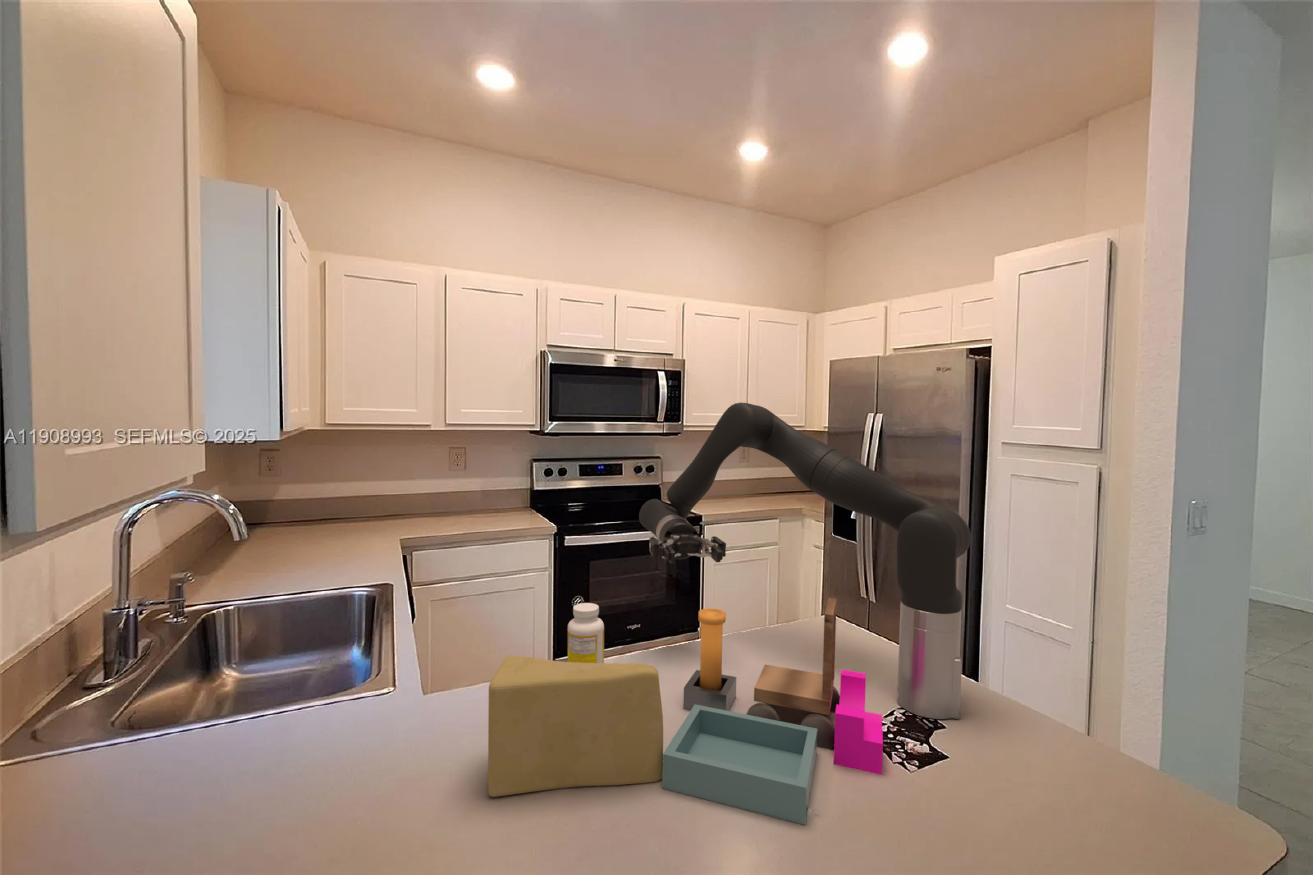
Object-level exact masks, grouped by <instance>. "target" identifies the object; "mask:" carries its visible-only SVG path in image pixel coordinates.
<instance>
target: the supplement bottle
mask: <svg viewBox="0 0 1313 875" xmlns="http://www.w3.org/2000/svg"><path fill="white" fill-rule="evenodd" d="M572 612H573V613H572V614H573V617H574V618H572V619H571V620H569V622H568V624H567V662H574V663H605V624H604V622H603V620H602V619H601V618H599V617H598V616H599V614H600V606H599V605H598V604H596V603H592V602H583V603H577V604H576V605H574V606H573V608H572Z"/></svg>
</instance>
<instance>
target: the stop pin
mask: <svg viewBox="0 0 1313 875" xmlns="http://www.w3.org/2000/svg"><path fill="white" fill-rule="evenodd" d="M726 619H727V618H726V612H725V611H724V610H722V609H718V608H711V607H710V608H703V609H700V610H698V622H700V656H699V657H700V661H699V662H700V664H699V665H700V666H699V669H700V687H702V688H707V689H713V690H718V691H721V680H722V675H723V673H722V672H723V671H722V670H723V668H722V667H723V632H724V631H723V630H724V627H723V625H724V623H726Z"/></svg>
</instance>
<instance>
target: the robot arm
mask: <svg viewBox="0 0 1313 875" xmlns="http://www.w3.org/2000/svg"><path fill="white" fill-rule="evenodd" d="M740 447H741V448H747V449H754V450H758V451H759V452H762V453H765V454H767V455H769V456H770V457H772V458H775V459H776V460H778V461H780V462H781V463H782V464H783V465H784V466H786V467H787V468H788V469H789V471H790V472H791V473H792V474H793V475H794V477H795V478H796V479H797V480H798V481H799V482H800V483H801V484H802V485H804V486H806V488H807V489H809V490H811V491H812V492H813V493H815V494H817V495H818V496H820V497H822V498H823V499H825V500H826V501H828V502H830V503H832V504H834V505H836V506H839V507H841V508H844V509H846V510H849V511H852V512H854V513H858V514H861V515H863V516H866V517H870V518H872V519H874V520H877V521H880V522H882V523H884V524H886V525H887V526H889V527H890V528H892V529H894V530H895V531H897V537H896V582H897V586H898V588H899V592H900V606H899V608H900V610H899V611H900V612H899V613H900V615H899V633H898V634H899V637H898V639H899V640H898V663H897V664H898V668H897V670H898V671H897V687H896V688H897V690H896V691H897V693H896V694H897V696H896V697H897V698H896V701H897V703H898V704H899V706H900V707H902V708H903V709H904V710H906V711H907V712H910V713H912V714H914V715H916V716H920V717H922V718H923V717H924V718H927V719H934V720H935V719H936V720H947V719H957V720H960V716H961V715H960V714H961V692H962V691H961V690H962V671H963V670H962V668H963V666H962V664H963V660H962V658H961V653H960V652H961V635H962V634H961V631H962V606H963V604H962V603H963V595H962V592H961V591H960V590H959V589H958V587H957V582H956V579H957V577H956V575H957V574H956V572H957V571H956V569H957V567H956V566H957V564H956V563H957V562H956V561H957V559H959V558H960V557H961V556H963V555H964V554H965V553H967V551H968V550H969V547H970V545H971V542H972V535H971V530H970V528H969V525H968V524H967V522H966V521H965V520H964V518H963V517H962V516H961V515H959V514H958V513H957V512H955V511H954V510H952V509H951V508H948V507H946V506H943V505H941V504H938V503H936V502H933V501H931V500H929V499H926V498H924V497H922V496H920V495H917V494H916V493H913V492H912V491H909V490H907V489H904V488H903V487H902V486H900V485H897V484H896V483H894V482H893V481H891V480H889V478H887V477H885V476H884V475H881V474H880V473H879V472H876V471H875V470H873V469H871V468H870V467H868V466H866V465H865V464H863V463H861V462H860V461H858V460H856V459H855V458H853V457H852V456H850V455H848V454H846V453H844V452H842V451H840V450H839V449H837V448H835V447H833V446H831V445H829V444H827V443H825V442H823V441H821V440H819V439H817V438H814V437H812V436H810V435H809V434H805V433H803V432H800V430H798V429H796V428H794V427H793V426H791V425H790V424H788V423H787V422H786V421H784V420H782V418H780V417H779V416H777V414H775V413H773V412H772V411H771V410H769V409H767V408H765V407H764V406H762V405H761V406H760V405H757V404H753V403H749V402H737V403H736V402H735V403H734V404H731V405H730V406H729V407H728V408H726V409H725V411H724V412H723V413H722V415H721V417H720V418H719V420H718V421H717V423H716V424H715V426H714V427H713V429H712V431H711V432H710V434H709V436H708V438H706V440H705V442H704V444H703V445H702V446H701V448H700V449H699V451H698V452H697V454H696V456H695V457H694V459H692V462H691V463H689V465H688V467H686V469H685V470H684V471H683V472H682V473H681V474H680V475H679V476H678V478H676V479H675V480H674V482H673V483H672V484H671V485H670V487H669V488H668V489H667V492H666V498H667V500H668V502H669V504H670V505H671V506H672V507H673V508H672V507H671V506H669V505H668V504H666V503H665V502H663V501H662V500H660V499H658V498H653V499H649V500H647V501H646V502H645V503H644V504H643V505H642V506H641V507H640V510H639V515H638V520H639V523H640V524H641V526H643V528H645V529H646V530H647V531H649V532H651V534H653V535H654V536H655V537H654V536H651V537H649V549H648V550H649V552H650V555H651V557H652V558H654V559H658V558H659V556H661V557H662V559H664V560H665V561H667V562H669V564H675V563H676V560H685V559H688V558H690V557H692V556H693V557H694V556H695V557H699V558H706V557H709V558H711V559H712V560H713V561H714V562H715V563H721V561H722V560H723V558H725V557H726V556H727V554H726V552H727V551H726V550H727V548H726V547H727V543H726V542H725V541H723V540H722V539H721V538H719V537H718V536H714V535H713V536H711V537H710V539H708V538H705V537H700V534H699V532H698V530H697V529H696V528H695V527H694V526H693V525H692V524H691V523H690V522H689V521H688V520H687V518H688V516H689V514H690V513H691V512H692V510H693V508H695V506H696V505H697V504H698V503H699V502H700V501H701V500H702V498H704V496H705V495H706V494H707V493H708V492H709V491H710V489H711V487H712V486H713V484H714V482H715V480H716V476H717V475H718V471H719V469H720V467H721V465H722V464H723V463H724V461H725V460H726V459H727V458H728V457H729V456H730V455H731V454H733V452H735V451H736V450H738V449H739V448H740ZM710 551H711V552H710Z"/></svg>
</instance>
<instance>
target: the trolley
mask: <svg viewBox="0 0 1313 875" xmlns="http://www.w3.org/2000/svg"><path fill="white" fill-rule="evenodd" d="M837 600H838V599H837V598H833V597H832V598H831V597H828V600H827V603H826V608H825V610H824V619H823V649H822V650H823V653H822V654H823V657H822V673H819V672H811V671H806V670H800V669H794V668H789V667H782V666H777V665H771V664H764V665H763V668H762V670H761V672H760V675H759V677H758V678H757V681H756V682H755V685H754V689H753V701H754V702H758V703H755V704H752V705H751V706H750V707H749V708H748V710H747V712H746V715H751V716H756V717H761V718H766V719H771V720H776V721H781V720H780V716H779V715H778V712H777V711H776V710H775V708H773V707H772V706H770V705H774V706H779V707H784V708H789V709H795V710H801V711H806V712H812V713H810V714H807V715H806V716H804V717H803V719H802V720H801V722H800V725H801V726H806V727H811V728H816V729H818V733H817V748H823V749H826V750H832V749H834V739H835V724H833V722H832V721H831V720H830V719H829V718H828V717H826V716H830V713H834V714H835V712H836V705H837V704H838V705H839V700H840V691H838V690H837V687H835V686H834V682H835V668H836V666H835V664H836V663H835V662H836V636H837V634H836V632H837V631H836V629H837ZM825 715H826V716H825Z"/></svg>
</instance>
